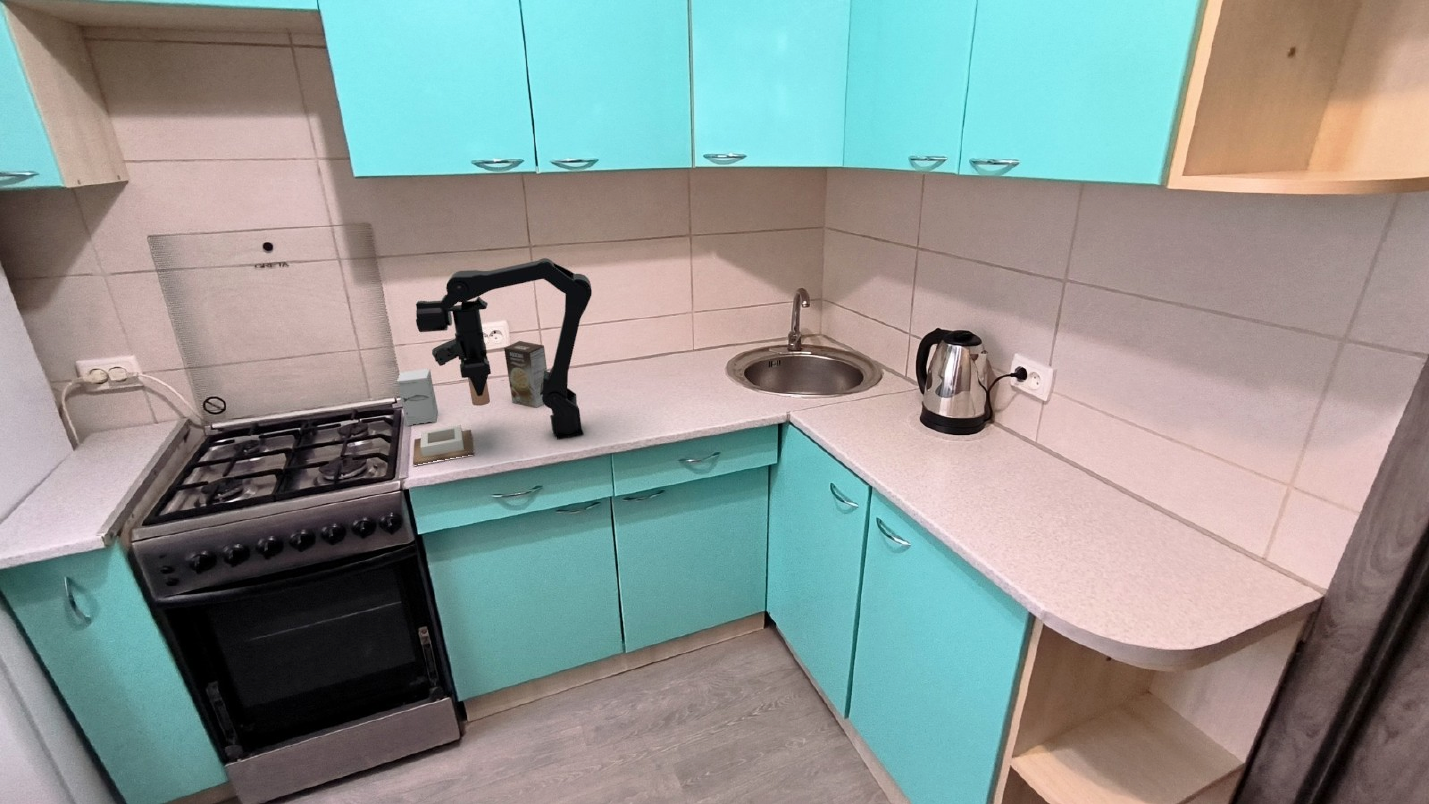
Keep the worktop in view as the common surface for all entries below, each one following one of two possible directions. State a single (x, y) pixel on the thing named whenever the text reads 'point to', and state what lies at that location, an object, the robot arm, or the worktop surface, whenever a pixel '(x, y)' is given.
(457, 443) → the board
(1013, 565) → the worktop surface
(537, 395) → the coffee box
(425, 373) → the supplement box
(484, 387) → the robot arm
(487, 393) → the terracotta pin
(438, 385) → the worktop surface
